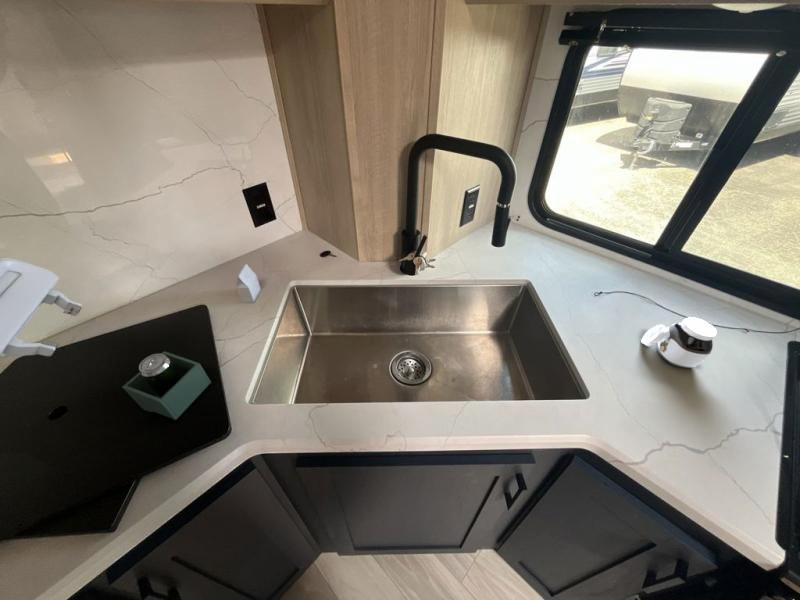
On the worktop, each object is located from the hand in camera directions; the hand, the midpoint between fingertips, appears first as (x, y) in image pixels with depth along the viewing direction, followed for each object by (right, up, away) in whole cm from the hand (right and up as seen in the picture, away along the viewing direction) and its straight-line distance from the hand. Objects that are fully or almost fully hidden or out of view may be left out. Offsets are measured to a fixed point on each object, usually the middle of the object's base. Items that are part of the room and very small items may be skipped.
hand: (68, 329), depth 53 cm
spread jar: (+128, -10, +35) cm, 133 cm away
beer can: (+4, -17, +21) cm, 28 cm away
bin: (+4, -18, +21) cm, 28 cm away
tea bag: (+8, +6, +49) cm, 50 cm away
